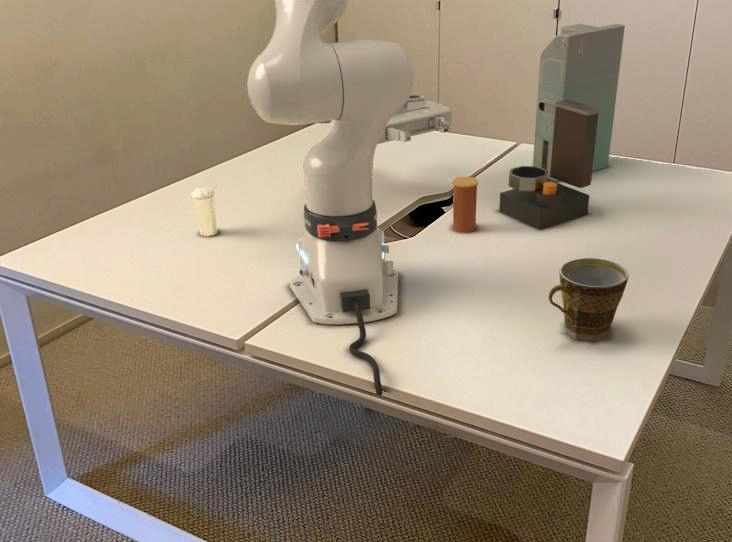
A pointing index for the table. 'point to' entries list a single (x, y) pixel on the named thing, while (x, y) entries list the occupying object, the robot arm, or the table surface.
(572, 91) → the device
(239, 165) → the table surface
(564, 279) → the ceramic cup
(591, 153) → the coffee maker
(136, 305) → the table surface
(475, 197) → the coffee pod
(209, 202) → the milkshake
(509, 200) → the base
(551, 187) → the power button
